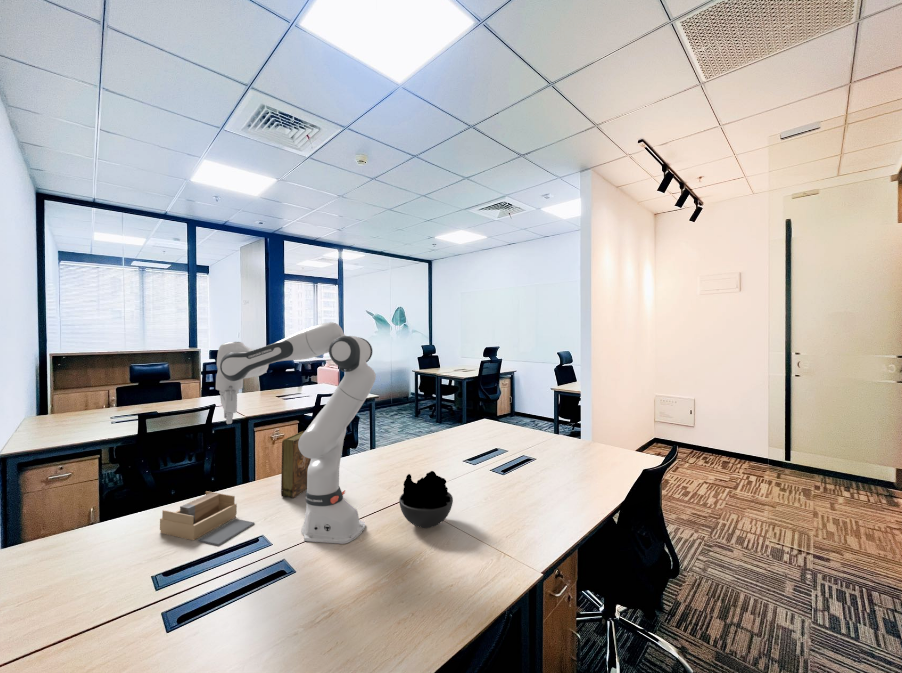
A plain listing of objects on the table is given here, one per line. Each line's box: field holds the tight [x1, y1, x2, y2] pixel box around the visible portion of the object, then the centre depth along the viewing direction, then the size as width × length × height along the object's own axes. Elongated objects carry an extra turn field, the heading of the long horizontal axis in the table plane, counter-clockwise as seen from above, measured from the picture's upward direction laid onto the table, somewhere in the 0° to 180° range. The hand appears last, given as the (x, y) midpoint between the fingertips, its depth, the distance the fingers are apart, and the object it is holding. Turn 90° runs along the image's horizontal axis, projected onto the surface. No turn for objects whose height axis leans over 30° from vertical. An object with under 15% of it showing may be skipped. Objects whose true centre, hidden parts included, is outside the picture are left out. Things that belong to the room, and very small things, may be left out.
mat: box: [197, 518, 255, 547], centre depth 131 cm, size 9×15×1 cm, turn 164°
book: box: [280, 430, 311, 499], centre depth 167 cm, size 16×6×25 cm, turn 168°
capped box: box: [179, 492, 219, 525], centre depth 136 cm, size 4×12×9 cm, turn 164°
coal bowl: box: [398, 470, 454, 529], centre depth 139 cm, size 20×20×19 cm
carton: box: [159, 490, 238, 541], centre depth 136 cm, size 16×17×8 cm
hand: (227, 420), depth 140 cm, fingers open, 8 cm apart
